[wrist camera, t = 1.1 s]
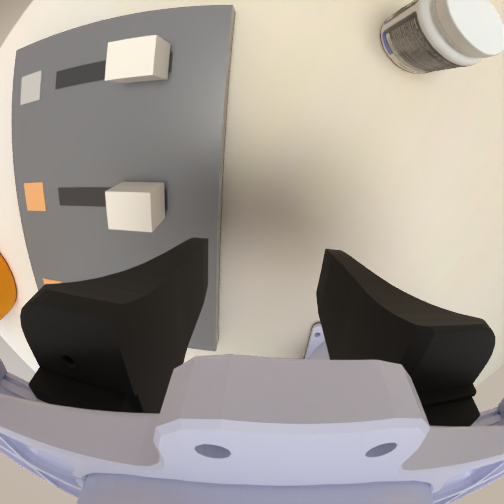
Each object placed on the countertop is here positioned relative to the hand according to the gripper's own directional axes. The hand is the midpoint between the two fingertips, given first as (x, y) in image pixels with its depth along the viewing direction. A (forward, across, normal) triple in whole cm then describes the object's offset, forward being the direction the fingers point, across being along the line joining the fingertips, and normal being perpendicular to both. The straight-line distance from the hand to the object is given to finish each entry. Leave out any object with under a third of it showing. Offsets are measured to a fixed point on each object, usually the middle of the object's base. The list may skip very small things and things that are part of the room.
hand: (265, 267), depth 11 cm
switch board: (+9, +12, 0) cm, 15 cm away
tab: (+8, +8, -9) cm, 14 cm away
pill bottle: (+10, -9, -13) cm, 18 cm away
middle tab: (+8, +8, 0) cm, 11 cm away
